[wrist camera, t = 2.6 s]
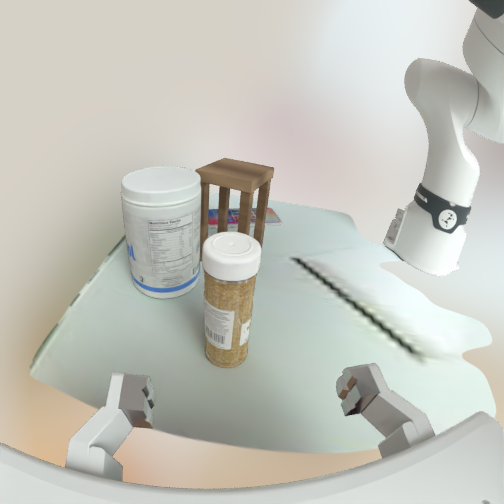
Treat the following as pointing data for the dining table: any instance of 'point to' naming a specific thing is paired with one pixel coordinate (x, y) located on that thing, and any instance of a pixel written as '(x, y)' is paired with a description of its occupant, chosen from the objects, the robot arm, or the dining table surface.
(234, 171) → the stool
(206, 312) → the sprinkles bottle
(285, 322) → the dining table surface
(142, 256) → the supplement tub
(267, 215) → the smartphone
